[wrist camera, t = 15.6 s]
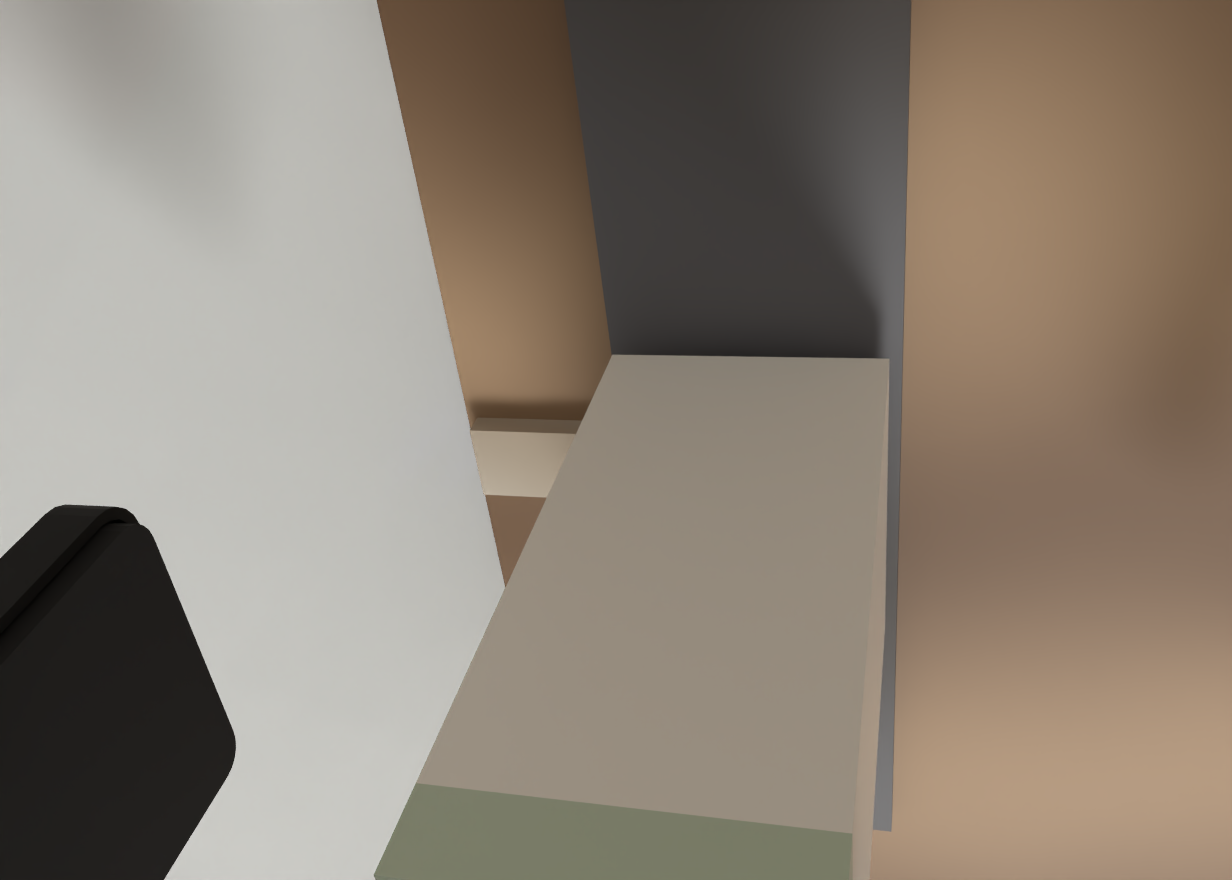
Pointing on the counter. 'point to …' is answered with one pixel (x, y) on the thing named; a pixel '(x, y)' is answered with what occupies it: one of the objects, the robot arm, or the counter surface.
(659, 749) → the sage-capped tab
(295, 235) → the counter surface
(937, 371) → the wooden board
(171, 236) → the counter surface
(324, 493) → the counter surface
